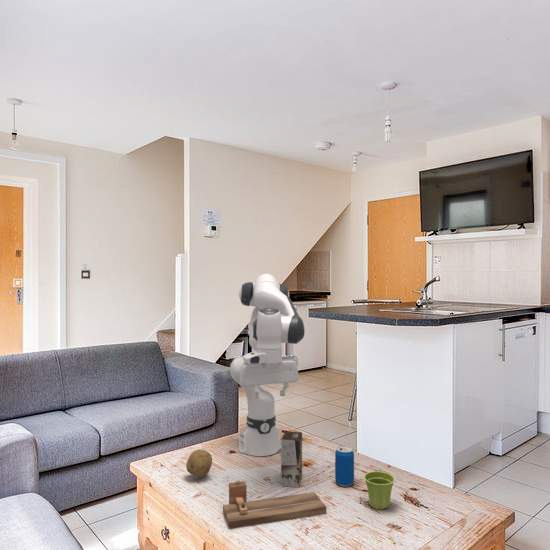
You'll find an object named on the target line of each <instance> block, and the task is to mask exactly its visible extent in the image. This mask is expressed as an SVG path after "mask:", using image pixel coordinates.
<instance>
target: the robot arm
mask: <svg viewBox="0 0 550 550" xmlns="http://www.w3.org/2000/svg"><path fill="white" fill-rule="evenodd" d="M238 296H239V300H240V303H241V304H242V305H243V306H246V307H254V308H253V310H252V311H251V317H250V321H249V335H248V336H249V338H248V343H249V346H250V347H251V348H252V349H253V351H252V352H249V353H246V354H244V355H242V356H238V357H235V358H234V359H232V361H231V362H230V365H229V366H230V367H229V371H230V372H229V374H230V377H231V378H232V379H233V380H234V381H235V382H236V383H237V384H239V386H240V387H241V388H242V390H243V391H244V394H245V396H246V401H247V415H246V425H245V426H244V428H243V431H240V432H239V438H238V440H237V441H238V442H237V443H238V453H240V454H246V455H249V456H253V457H267V456H271V455H274V454H277V453H278V452H279V451H281V439H280V429H279V428H278V427H277V426H276V425H277V423H276V421H277V419H276V414H275V408H276V407H275V398H274V396H273V394H272V393H271V392H269V391H268V390H265V389H263V388H262V387H261V385H263V386H264V385H277V384H278V385H279V384H282V385H283V387H282V389H280V390H279V396H280V397H285V396H286V391H287V389H288V388H289V384H290V383H297V382H298V381H299V380H300V378H299V369H298V366H299V358H298V357H297V356H296V355H294V354H290V355H284V354H283V344H293V345H297V344H298V343H300V342H301V341H302V340H303V339H304V338H305V337H304V336H305V331H306V330H305V323H304V320H303V318H301V317H300V316H299V313H298V312H297V309H296V307H295V305H294V303H293V301H292V299H291V298H290V291H289V288H288V286H287V285H285V284H282V283H279V282H278V280H277V279H276V277H275V276H274V275H272V274H270V273H262V274H260V275H259V276H258V277H257V278H256V280H255V282H252V281H249V282H244V283H243V284H242V285H241V287H240V289H239V293H238Z"/></svg>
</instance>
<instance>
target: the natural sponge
mask: <svg viewBox="0 0 550 550" xmlns="http://www.w3.org/2000/svg"><path fill="white" fill-rule="evenodd" d="M212 464H213V457H212V455H211V453H210V452H208V451H207V450H206V449H197V450H194V451H193V452H191V453H190V455H189V456H188V459H187V461H186V464H185V467H186V471H187V472H188V473H189V474H191V475H193V476H195V477H197V478H198V479H203V478H205V477H206V476H207V475H208V474H209V472H210V470H211V467H212Z"/></svg>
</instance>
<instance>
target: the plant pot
mask: <svg viewBox="0 0 550 550" xmlns="http://www.w3.org/2000/svg"><path fill="white" fill-rule="evenodd" d="M363 479H364V481H365V484H366V487H367V489H366V490H367V494H368V501H369V505H370V506H371V507H372V508H373V509H375V510H384V509H388V508H389V507H390V503H391V496H392V489H393V486H394V483H395V481H396V479H395V477H394V476H393V474H391V473H388V472H384V471H374V470H373V471H368V472H366V473H365V474H364V476H363Z"/></svg>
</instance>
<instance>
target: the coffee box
mask: <svg viewBox="0 0 550 550" xmlns="http://www.w3.org/2000/svg"><path fill="white" fill-rule="evenodd" d="M281 437H282V438H281V439H280V443H281V449H280V451H281V452H280V454H281V455H280V466H281V467H280V486H281V487H291V488H299V486H300V484H301V481H302V478H303V432H301V431H285V432H284V433H283V435H282V436H281Z"/></svg>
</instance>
